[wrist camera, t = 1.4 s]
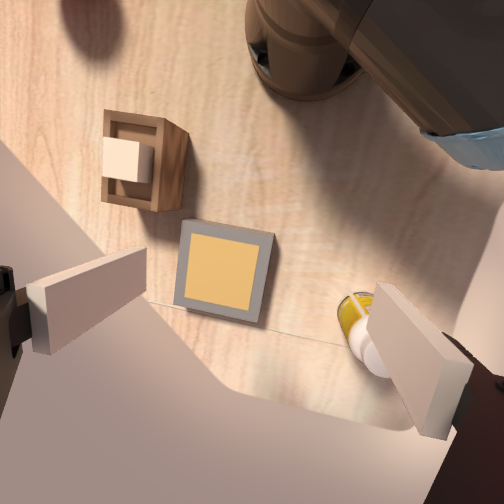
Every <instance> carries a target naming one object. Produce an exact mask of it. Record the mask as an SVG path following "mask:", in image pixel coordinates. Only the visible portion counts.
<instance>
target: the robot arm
mask: <svg viewBox="0 0 504 504" xmlns="http://www.w3.org/2000/svg"><path fill="white" fill-rule="evenodd" d="M245 33H246V40H247V45H248V49H249V53H250V56H251V59H252V62H253V65H254V67H255V69H256V71H257V73H258V74H259V76H260V77H261V78H262V80H263V81H264V82H265V83H266V84H267V85H268V86H269V87H270V88H271V89H272V90H274V91H275V92H276V93H278V94H280V95H282V96H284V97H286V98H289V99H292V100H297V101H317V100H322V99H325V98H328V97H331V96H333V95H335V94H337V93H339V92H341V91H342V90H344V89H345V88H347V87H348V86H349V85H351V84H352V83H353V82H354V81H355V80H356V79H357V78H358V77H359V76H360V75H361V74H362V72H363V71H364V70H365V71H366V72H367V73H368V74H369V75H370V76H371V77H372V78H373V79H374V80H375V82H376V83H377V84H378V85H379V86H380V87H381V88H382V89H383V90H384V91H385V92H386V93H387V94H388V95H389V96H390V97H391V98H392V100H393V101H394V102H395V103H396V104H397V105H398V106H399V107H400V108H401V109H402V110H403V111H404V112H405V113H406V114H407V115H408V116H409V117H410V119H411V120H412V121H413V122H414V123H415V124H416V125H417V126H418V127H419V128H420V133H421V134H422V135H423V136H424V137H425V138H427V139H429V140H431V141H435V142H436V143H437V144H438V145H439V146H440V147H441V148H442V149H443V150H444V151H445V152H447V153H448V154H449V155H450V156H451V157H452V158H453V159H454V160H455V161H457V162H458V163H459V164H461V165H463V166H465V167H468V168H471V169H480V170H486V169H487V170H491V171H502V170H504V0H248V1H247V6H246V13H245ZM146 250H147V248H146V247H139V246H133V247H130V248H127V249H124V250H121V251H118V252H116V253H113V254H110V255H107V256H104V257H101V258H99V259H96V260H93V261H90V262H87V263H84V264H81V265H79V266H76V267H73V268H70V269H67V270H65V271H62V272H59V273H56V274H53V275H50V276H47V277H45V278H42V279H39V280H36V281H33V282H30V283H28V284H26V287H24V288H21V289H19V290H16V291H15V285H14V277H13V269H12V268H11V267H9V266H0V418H1V415H2V412H3V409H4V406H5V404H6V401H7V398H8V394H9V392H10V388H11V386H12V383H13V380H14V377H15V374H16V371H17V368H18V365H19V362H20V359H21V356H22V353H23V350H22V342H24V341H26V340H28V339H30V338H32V347H33V352H37V353H42V354H47V355H52V354H54V353H55V352H57V351H58V350H60V349H61V348H63V347H64V346H65V345H67V344H68V343H70V342H71V341H73V340H74V339H76V338H77V337H79V336H80V335H82V334H83V333H85V332H86V331H88V330H89V329H90V328H92V327H93V326H95V325H96V324H98V323H99V322H101V321H102V320H104V319H105V318H107V317H108V316H110V315H111V314H113V313H114V312H115V311H117V310H118V309H120V308H121V307H123V306H124V305H126V304H127V303H129V302H130V301H132V300H133V299H134V298H136V297H138V296H139V295H141V294H142V293H143V292H145V291H146ZM366 330H367V332H368V334H369V336H370V338H371V340H372V341H373V343H374V345H375V347H376V349H377V351H378V353H379V355H380V357H381V359H382V361H383V363H384V365H385V367H386V369H387V371H388V373H389V375H390V377H391V379H392V381H393V383H394V385H395V387H396V389H397V391H398V393H399V395H400V397H401V399H402V400H403V402H404V404H405V406H406V408H407V410H408V412H409V414H410V416H411V418H412V420H413V422H414V424H415V426H416V428H417V430H418V432H419V434H420V435H422V436H427V437H431V438H436V439H441V440H445V441H446V440H447V437H448V434H449V432H450V429H451V426H452V425H453V426H454V427H455V429H456V431H457V434H456V436H455V438H454V440H453V442H452V444H451V446H450V448H449V450H448V453H447V455H446V457H445V459H444V461H443V463H442V465H441V467H440V470H439V472H438V474H437V476H436V478H435V480H434V482H433V484H432V487H431V489H430V491H429V493H428V495H427V497H426V499H425V501H424V503H423V504H504V377H503V376H499V375H494V374H492V373H491V372H490V371H489V370H488V369H487V368H486V367H485V366H484V365H483V364H481V363H480V362H479V361H478V360H477V359H476V358H475V357H473V355H472V354H471V353H469V351H467V350H466V349H465V348H464V347H463V346H462V345H461V344H460V343H459V342H458V341H457V340H455V339H454V338H452V337H450V336H449V335H447V334H445V333H444V332H440V331H439V330H438V329H437V328H436V327H435V326H434V325H433V324H432V323H431V322H430V321H429V320H428V319H427V318H426V317H425V316H424V315H423V314H422V313H421V312H420V311H419V310H418V309H417V308H416V307H415V306H414V305H413V304H412V303H411V302H410V301H409V300H408V299H407V298H406V297H405V296H404V295H402V294H401V293H400V292H399V291H398V290H397V289H396V288H395V287H394V286H393V285H392V284H387V283H380V282H377V284H376V288H375V292H374V296H373V300H372V305H371V309H370V313H369V317H368V321H367V326H366Z"/></svg>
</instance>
